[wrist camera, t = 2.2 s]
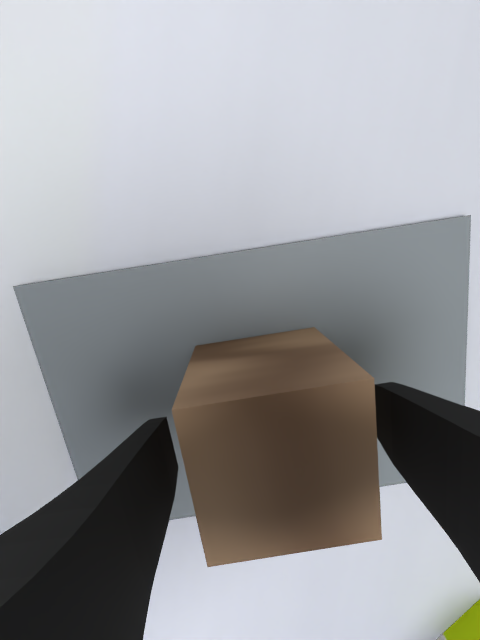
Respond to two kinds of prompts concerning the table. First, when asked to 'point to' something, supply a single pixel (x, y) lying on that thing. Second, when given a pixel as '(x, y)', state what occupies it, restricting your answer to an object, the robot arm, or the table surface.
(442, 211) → the table surface
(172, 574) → the table surface
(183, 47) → the table surface
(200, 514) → the walnut block
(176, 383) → the gray tile
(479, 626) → the puzzle toy
